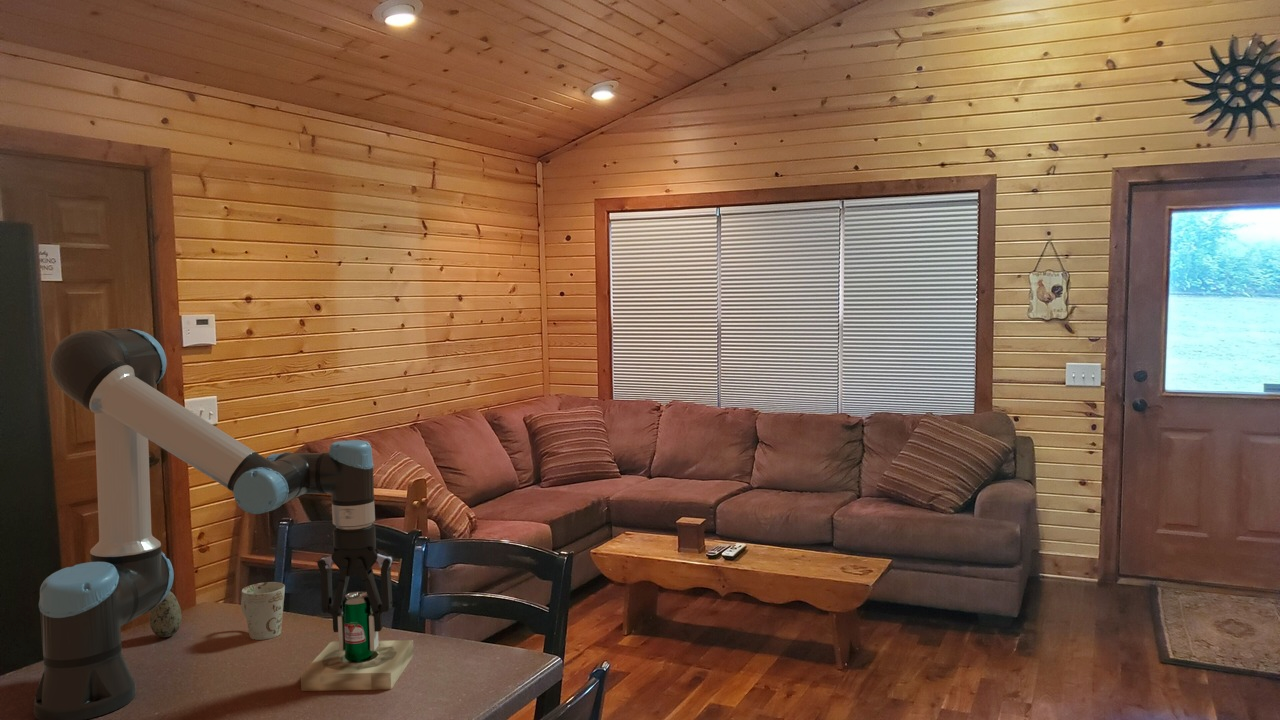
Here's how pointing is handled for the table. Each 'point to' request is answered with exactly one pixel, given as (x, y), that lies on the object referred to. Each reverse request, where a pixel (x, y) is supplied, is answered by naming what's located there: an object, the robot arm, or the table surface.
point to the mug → (263, 609)
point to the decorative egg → (166, 617)
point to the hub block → (358, 668)
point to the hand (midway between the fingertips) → (358, 648)
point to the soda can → (357, 627)
